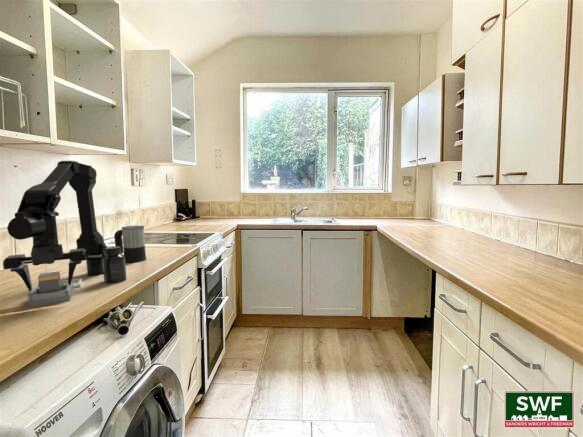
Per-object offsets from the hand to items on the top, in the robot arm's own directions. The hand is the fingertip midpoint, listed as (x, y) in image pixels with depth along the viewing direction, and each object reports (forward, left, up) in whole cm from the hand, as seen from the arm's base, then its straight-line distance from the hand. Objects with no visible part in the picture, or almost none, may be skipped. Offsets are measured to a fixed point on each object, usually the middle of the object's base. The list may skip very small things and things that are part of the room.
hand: (50, 287), depth 97 cm
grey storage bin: (-2, 0, -4) cm, 5 cm away
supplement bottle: (-11, +16, -4) cm, 20 cm away
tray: (-14, 0, -4) cm, 15 cm away
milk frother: (-43, +21, -4) cm, 48 cm away
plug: (0, 0, -2) cm, 2 cm away
